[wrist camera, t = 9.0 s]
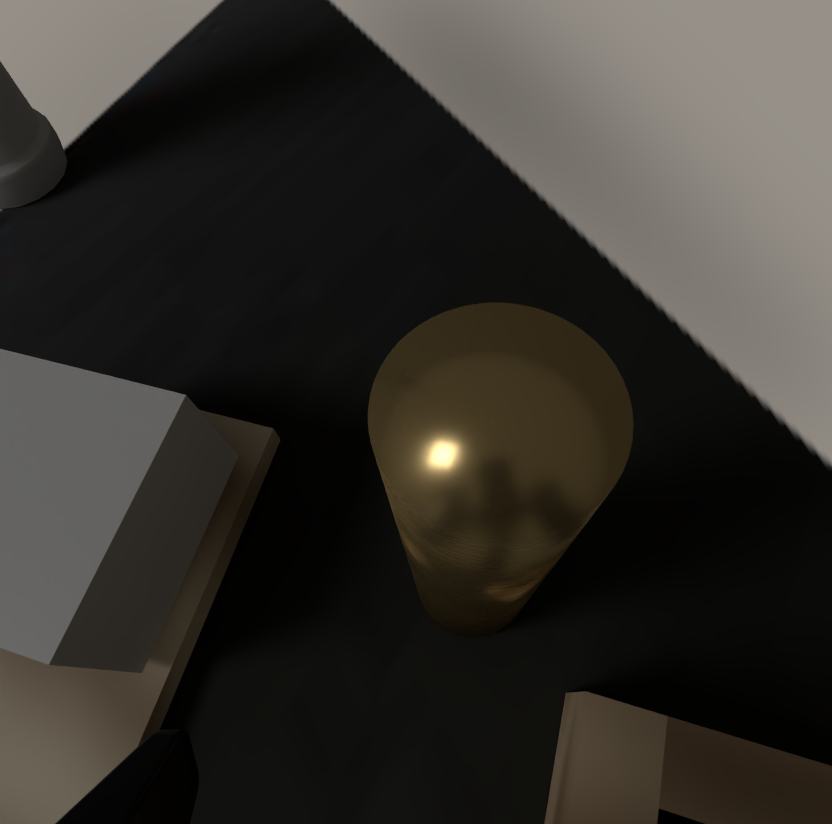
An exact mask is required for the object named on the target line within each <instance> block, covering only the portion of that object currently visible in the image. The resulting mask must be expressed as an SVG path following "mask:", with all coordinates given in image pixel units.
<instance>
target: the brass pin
mask: <svg viewBox="0 0 832 824" xmlns="http://www.w3.org/2000/svg"><path fill="white" fill-rule="evenodd" d="M368 429H369V435H370V442H371V445H372V448H373V452H374V455H375V458H376V461H377V464H378V467H379V471H380V474H381V477H382V480H383V483H384V486H385V489H386V492H387V496H388V499H389V502H390V505H391V508H392V511H393V514H394V518H395V521H396V524H397V527H398V530H399V533H400V536H401V540H402V543H403V546H404V549H405V552H406V555H407V558H408V561H409V565H410V568H411V571H412V574H413V577H414V580H415V583H416V587H417V590H418V593H419V596H420V599H421V602H422V604H423V606H424V608H425V609H426V611H427V613H428V614H429V615H430V616H431V618H432V619H433V620H434V621H435V622H436V623H437V624H438V625H440V626H441V627H443V628H444V629H446V630H448V631H449V632H451V633H454V634H457V635H460V636H465V637H483V636H488V635H491V634H494V633H496V632H498V631H500V630H502V629H503V628H505V627H506V626H507V625H509V624H510V623H511V622H512V621H513V620H514V619H515V617H516V616H517V615H518V613H519V612H520V611H521V609H522V608H523V607H524V606H525V604H526V603H527V602H528V600H529V599H530V598H531V596H532V595H533V594H534V592H535V591H536V590H537V588H538V587H539V586H540V584H541V583H542V582H543V580H544V579H545V578H546V576H547V575H548V574H549V572H550V571H551V570H552V568H553V567H554V566H555V564H556V563H557V562H558V560H559V559H560V558H561V556H562V555H563V554H564V552H565V551H566V550H567V548H568V547H569V546H570V545H571V543H572V542H573V541H574V539H575V538H576V537H577V535H578V534H579V533H580V531H581V530H582V529H583V527H584V526H585V525H586V523H587V522H588V521H589V519H590V518H591V517H592V515H593V514H594V513H595V511H596V510H597V509H598V507H599V506H600V505H601V503H602V502H603V501H604V499H605V498H606V497H607V495H608V494H609V493H610V491H611V490H612V489H613V488H614V486H615V484H616V483H617V481H618V479H619V478H620V476H621V474H622V472H623V470H624V467H625V465H626V462H627V460H628V457H629V453H630V449H631V444H632V438H633V414H632V407H631V402H630V398H629V394H628V391H627V388H626V386H625V383H624V381H623V378H622V377H621V375H620V373H619V371H618V369H617V367H616V366H615V364H614V363H613V361H612V360H611V359H610V357H609V356H608V355H607V353H606V352H605V351H604V350H603V349H602V348H601V347H600V346H599V345H598V344H597V343H596V341H594V340H593V339H592V338H591V337H590V336H588V335H587V334H586V333H585V332H584V331H582V330H581V329H579V328H578V327H576V326H575V325H573V324H572V323H570V322H568V321H566V320H564V319H562V318H560V317H558V316H556V315H554V314H551V313H549V312H546V311H543V310H541V309H537V308H533V307H529V306H525V305H518V304H511V303H482V304H474V305H468V306H463V307H459V308H456V309H452V310H449V311H446V312H444V313H442V314H439V315H437V316H434V317H432V318H431V319H429V320H427V321H425V322H424V323H422V324H420V325H419V326H417V327H416V328H415V329H413V330H412V331H411V332H409V333H408V334H407V335H406V336H405V337H404V338H403V339H402V340H401V341H400V342H398V343H397V345H396V346H395V347H394V348H393V349H392V351H391V352H390V353H389V354H388V356H387V357H386V359H385V361H384V362H383V364H382V365H381V367H380V369H379V371H378V374H377V376H376V378H375V380H374V383H373V387H372V390H371V394H370V399H369V406H368Z"/></svg>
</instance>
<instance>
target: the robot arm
mask: <svg viewBox="0 0 832 824" xmlns="http://www.w3.org/2000/svg"><path fill="white" fill-rule="evenodd" d="M198 785H199V774H198V768H197V764H196V760H195V757H194V753H193V749H192V745H191V741H190V737H189V734H188V733H187V732H186V731H185V730H182V729H171V730H158V731H155V732H154V733H152V734H151V735H150V736H149V737H147V738H146V739H145V740H144V741H143V742H142V743H141V744H140V745H139V746H138V747H137V748H136V749H135V750H133V751H132V752H131V753H130V754H129V755H128V756H127V757H126V758H125V759H124V760H123V761H122V762H121V763H120V764H118V765H117V766H116V767H115V768H114V769H113V770H112V771H111V772H110V773H109V774H108V775H107V776H106V777H105V778H103V779H102V780H101V781H100V782H99V783H98V784H97V785H96V786H95V787H94V788H93V789H92V790H91V791H90V792H88V793H87V794H86V795H85V796H84V797H83V798H82V799H81V800H80V801H79V802H78V803H77V804H76V805H74V806H73V807H72V808H71V809H70V810H69V811H68V812H67V813H66V814H65V815H64V816H63V817H62V818H61V819H59V820H58V821H57V822H56V823H55V824H190V820H191V816H192V812H193V808H194V804H195V800H196V796H197V791H198Z"/></svg>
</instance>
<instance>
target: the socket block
mask: <svg viewBox="0 0 832 824" xmlns="http://www.w3.org/2000/svg"><path fill="white" fill-rule="evenodd" d="M659 809H662V810H665V811H668V812H671V813H674V814H677V815H680V816H683V817H686V818H689V819H693V820H696V821H699V822H702V823H705V824H832V766H830V765H827V764H823V763H820V762H817V761H813V760H810V759H807V758H804V757H800V756H797V755H794V754H790V753H787V752H784V751H781V750H777V749H774V748H771V747H767V746H764V745H761V744H758V743H754V742H751V741H748V740H744V739H741V738H738V737H735V736H731V735H728V734H725V733H721V732H718V731H715V730H711V729H708V728H705V727H702V726H698V725H695V724H692V723H688V722H685V721H682V720H679V719H675V718H672V717H669V716H665V715H662V714H659V713H656V712H652V711H649V710H646V709H642V708H639V707H636V706H633V705H629V704H626V703H623V702H619V701H616V700H613V699H610V698H606V697H603V696H600V695H596V694H593V693H590V692H587V691H585V692H571V693H566V696H565V702H564V708H563V714H562V720H561V726H560V732H559V738H558V745H557V751H556V757H555V763H554V769H553V775H552V781H551V787H550V794H549V800H548V806H547V812H546V818H545V824H657V821H658V810H659Z"/></svg>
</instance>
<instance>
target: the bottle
mask: <svg viewBox="0 0 832 824" xmlns="http://www.w3.org/2000/svg"><path fill="white" fill-rule="evenodd" d="M66 165H67V158H66V155H65V152H64V150H63V147H62V145H61V142H60V140H59V138H58V135H57V134H56V132H55V130H54V129H53V127H52V126H51V124H50V122H49V121H48V120H47V118H46V117H45V116H43V115H42V114H41V113H39V112H38V111H36V110H35V109H33V108H32V107H31V106H30V104H29V103H28V102H27V100H26V98H25V97H24V96H23V94H22V93H21V91H20V90H19V88H18V87H17V85H16V84H15V82H14V81H13V79H12V78H11V76H10V75H9V73H8V72H7V71H6V69H5V68H4V66H3V65H2V63H1V62H0V209H6V208H14V207H20V206H23V205H25V204H28V203H31V202H33V201H36V200H38V199H40V198H41V197H42V196H44V195H45V194H47V193H48V192H49V191H51V190H52V189H53V188H55V186H56V185H57V184H58V182H59V181H60V180H61V178H62V177H63V176H64V174H65V170H66Z"/></svg>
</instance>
